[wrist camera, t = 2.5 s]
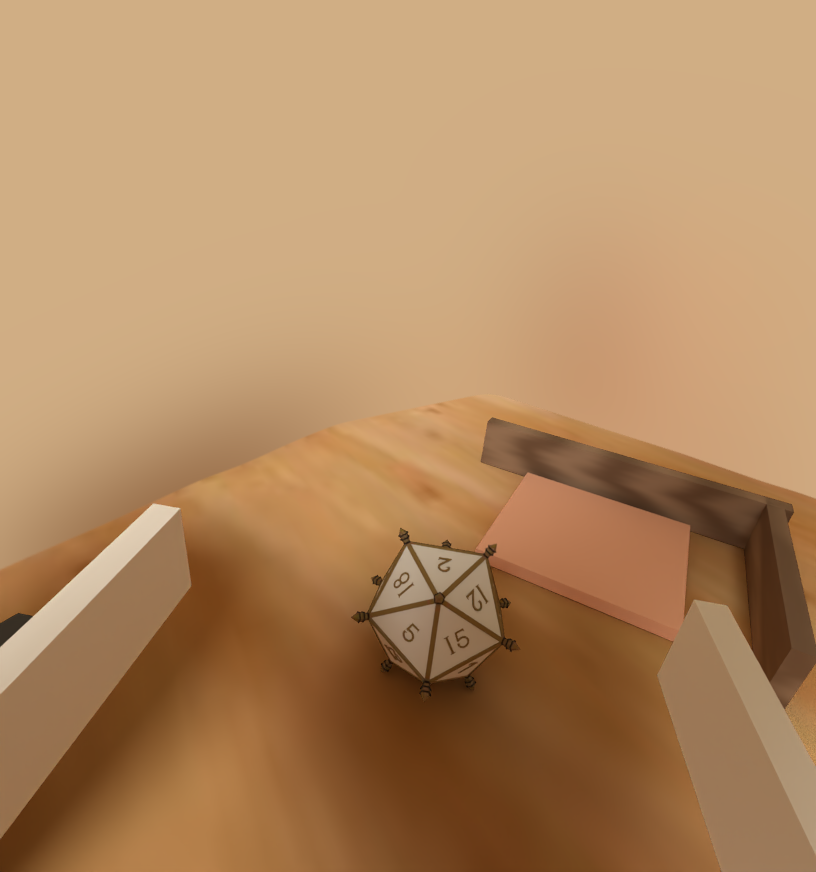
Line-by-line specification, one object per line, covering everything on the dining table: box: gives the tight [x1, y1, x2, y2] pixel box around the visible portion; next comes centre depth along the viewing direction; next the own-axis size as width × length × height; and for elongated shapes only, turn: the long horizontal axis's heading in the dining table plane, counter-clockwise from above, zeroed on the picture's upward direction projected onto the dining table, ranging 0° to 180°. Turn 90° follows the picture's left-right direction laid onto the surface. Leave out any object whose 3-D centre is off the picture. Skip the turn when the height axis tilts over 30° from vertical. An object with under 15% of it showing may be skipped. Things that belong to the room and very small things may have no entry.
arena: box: [481, 418, 816, 709], centre depth 38 cm, size 25×17×4 cm
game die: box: [351, 528, 519, 702], centre depth 28 cm, size 9×8×10 cm
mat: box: [475, 473, 690, 642], centre depth 40 cm, size 14×13×1 cm
